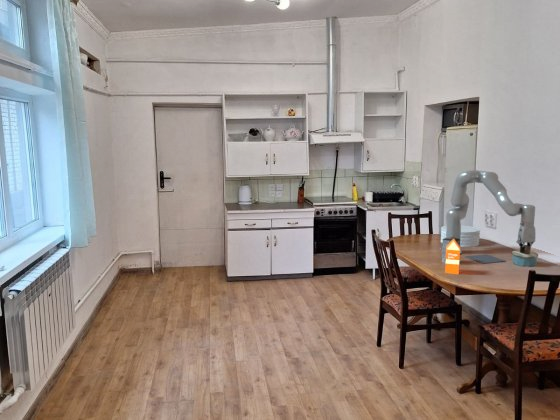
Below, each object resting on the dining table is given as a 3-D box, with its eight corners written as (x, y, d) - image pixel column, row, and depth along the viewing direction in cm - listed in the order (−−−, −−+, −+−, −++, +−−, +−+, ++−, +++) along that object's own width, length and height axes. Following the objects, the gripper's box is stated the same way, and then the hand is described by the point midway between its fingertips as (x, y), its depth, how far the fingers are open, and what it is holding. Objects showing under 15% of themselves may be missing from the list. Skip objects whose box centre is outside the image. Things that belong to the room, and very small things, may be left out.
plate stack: (432, 240, 360) (433, 226, 359) (459, 237, 371) (460, 224, 369) (459, 248, 335) (460, 233, 333) (487, 244, 346) (488, 230, 344)
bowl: (523, 267, 284) (524, 258, 283) (508, 262, 297) (508, 253, 296) (540, 265, 288) (541, 256, 287) (524, 260, 300) (525, 251, 299)
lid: (524, 258, 282) (525, 249, 281) (506, 252, 296) (507, 243, 295) (543, 256, 286) (544, 247, 285) (525, 251, 300) (525, 242, 299)
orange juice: (445, 272, 274) (446, 240, 271) (445, 269, 282) (446, 237, 279) (458, 274, 271) (460, 241, 268) (458, 270, 279) (460, 238, 276)
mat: (482, 263, 293) (482, 263, 293) (464, 256, 310) (464, 256, 310) (505, 261, 298) (505, 260, 298) (486, 254, 315) (486, 254, 315)
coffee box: (451, 260, 302) (452, 236, 299) (459, 262, 296) (460, 238, 294) (441, 262, 297) (442, 238, 295) (449, 264, 292) (450, 240, 289)
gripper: (521, 226, 282) (518, 254, 285) (542, 224, 287) (540, 252, 290) (511, 223, 289) (509, 251, 292) (533, 222, 294) (530, 249, 297)
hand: (525, 251), depth 291 cm, fingers closed on lid, 4 cm apart
